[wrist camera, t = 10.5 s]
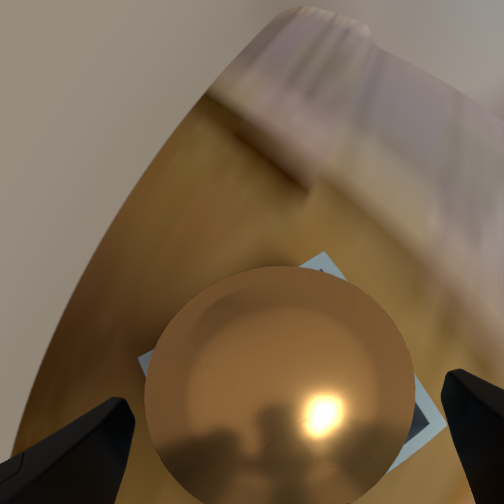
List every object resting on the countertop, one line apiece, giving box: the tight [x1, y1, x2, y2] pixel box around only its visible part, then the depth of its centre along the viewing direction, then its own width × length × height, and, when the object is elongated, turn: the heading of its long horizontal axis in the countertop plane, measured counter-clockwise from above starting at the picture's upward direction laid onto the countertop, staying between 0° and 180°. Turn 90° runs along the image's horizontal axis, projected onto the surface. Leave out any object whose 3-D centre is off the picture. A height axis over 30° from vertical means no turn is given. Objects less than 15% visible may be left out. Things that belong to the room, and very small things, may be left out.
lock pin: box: [144, 266, 416, 504], centre depth 10 cm, size 6×6×12 cm
